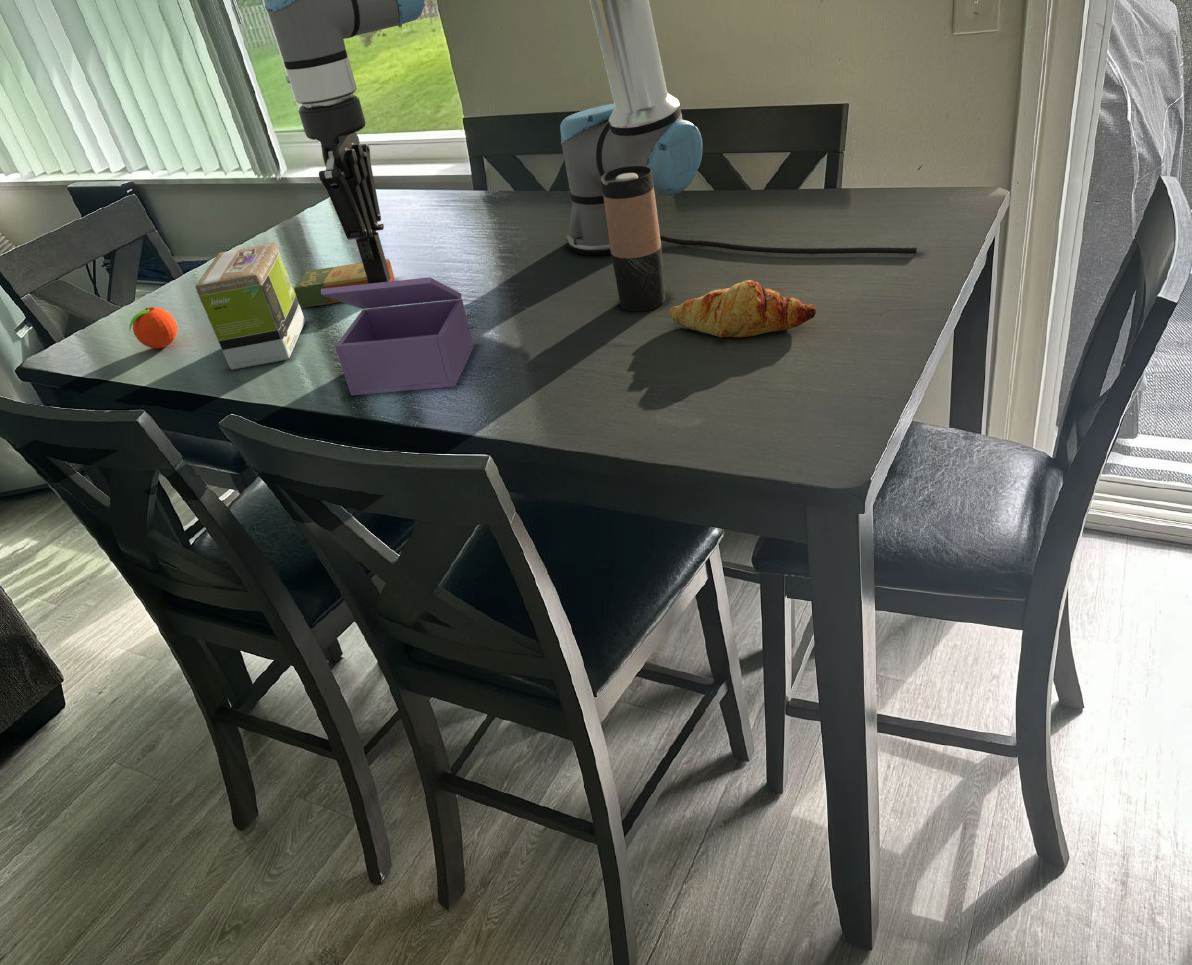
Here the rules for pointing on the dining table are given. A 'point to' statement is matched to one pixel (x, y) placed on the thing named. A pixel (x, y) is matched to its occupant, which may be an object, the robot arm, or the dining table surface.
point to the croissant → (742, 311)
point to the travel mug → (634, 237)
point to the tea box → (251, 305)
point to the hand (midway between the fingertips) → (379, 281)
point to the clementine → (154, 327)
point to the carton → (330, 282)
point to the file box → (406, 347)
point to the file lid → (392, 293)
